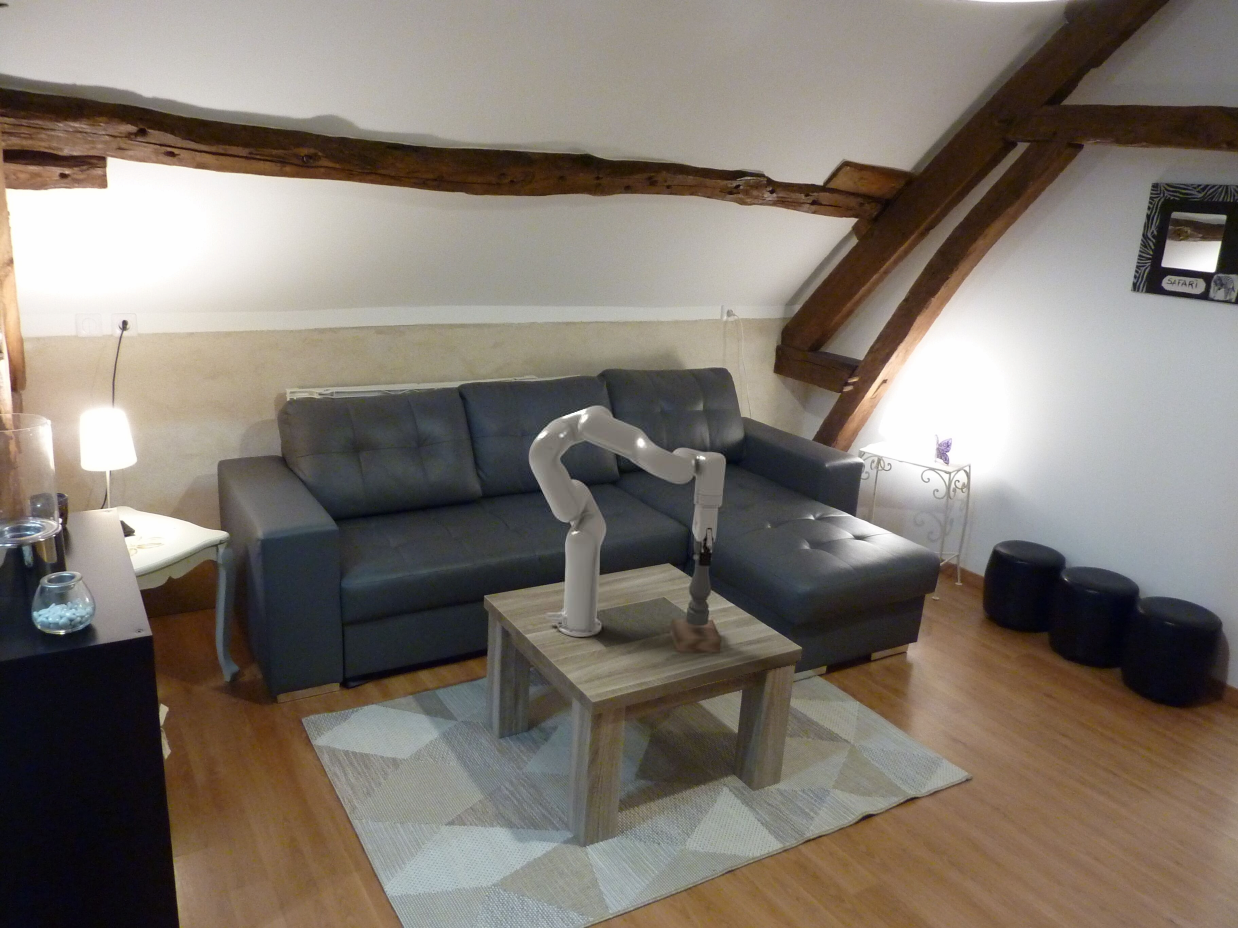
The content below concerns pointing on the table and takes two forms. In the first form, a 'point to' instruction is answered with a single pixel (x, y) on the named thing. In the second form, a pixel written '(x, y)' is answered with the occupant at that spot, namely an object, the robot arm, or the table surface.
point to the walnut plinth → (695, 636)
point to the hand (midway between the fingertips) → (702, 560)
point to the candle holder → (699, 590)
